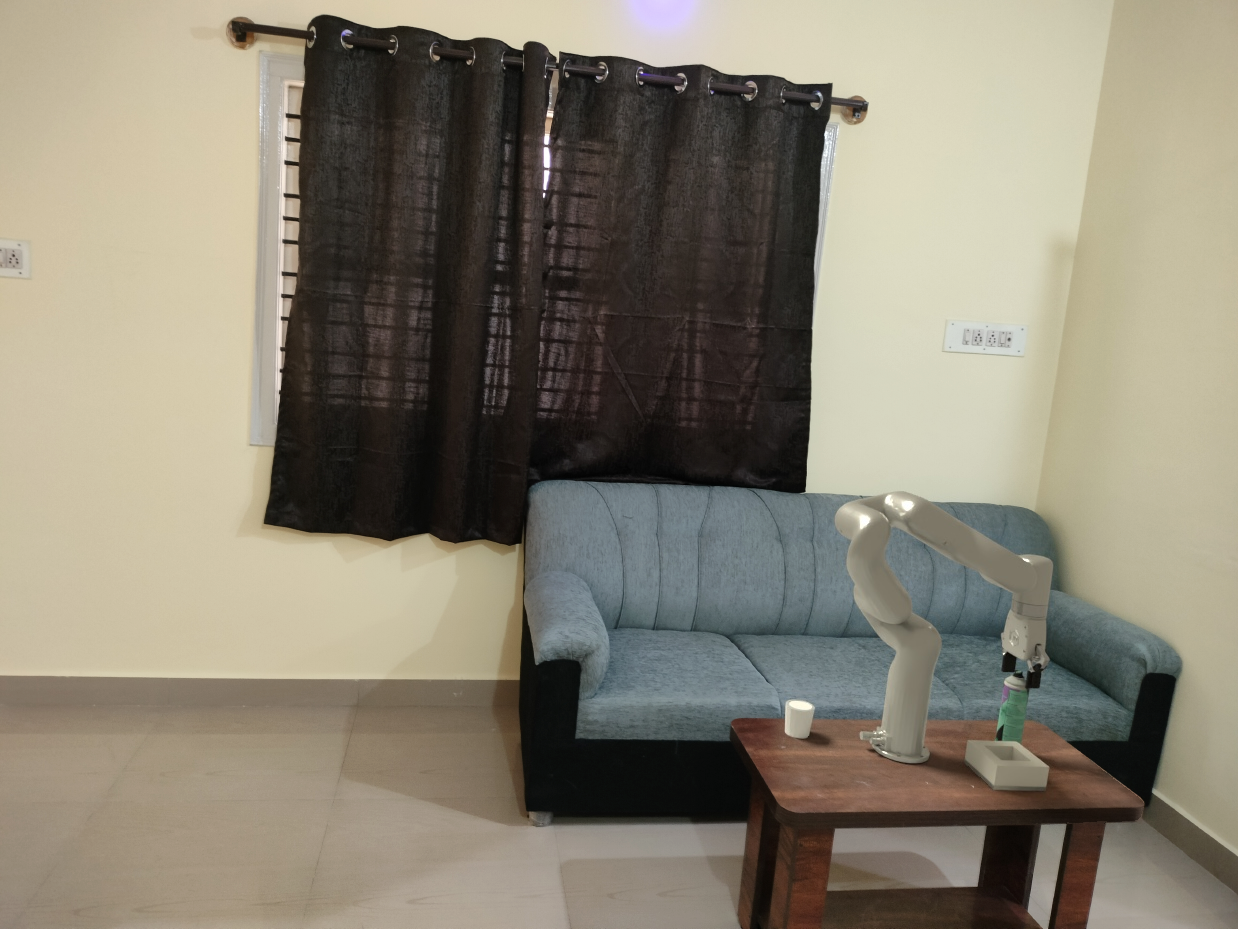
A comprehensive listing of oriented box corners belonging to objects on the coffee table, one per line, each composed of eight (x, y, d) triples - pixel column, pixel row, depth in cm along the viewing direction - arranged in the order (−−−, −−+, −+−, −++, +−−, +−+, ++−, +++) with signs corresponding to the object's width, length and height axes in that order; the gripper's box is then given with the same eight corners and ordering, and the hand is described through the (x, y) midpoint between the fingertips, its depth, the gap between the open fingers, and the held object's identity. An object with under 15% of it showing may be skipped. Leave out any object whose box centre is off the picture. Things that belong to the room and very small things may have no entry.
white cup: (809, 728, 205) (813, 701, 204) (813, 741, 198) (817, 712, 198) (780, 725, 206) (784, 697, 205) (783, 737, 199) (787, 708, 198)
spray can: (1019, 751, 203) (1031, 670, 201) (1019, 760, 198) (1032, 677, 196) (994, 745, 205) (1006, 665, 203) (993, 753, 200) (1006, 671, 198)
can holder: (993, 790, 182) (997, 765, 182) (964, 763, 194) (967, 740, 193) (1045, 791, 184) (1049, 767, 183) (1013, 764, 196) (1016, 741, 195)
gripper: (993, 597, 205) (984, 666, 208) (1036, 620, 188) (1026, 694, 191) (1022, 598, 206) (1013, 666, 209) (1068, 621, 189) (1057, 694, 192)
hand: (1019, 679), depth 200 cm, fingers open, 9 cm apart
